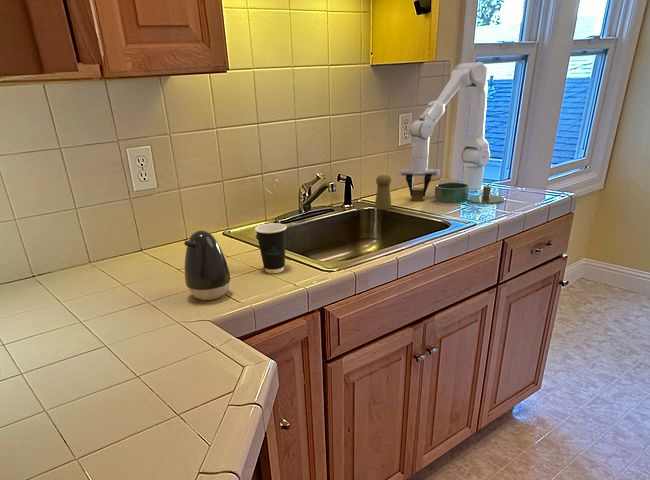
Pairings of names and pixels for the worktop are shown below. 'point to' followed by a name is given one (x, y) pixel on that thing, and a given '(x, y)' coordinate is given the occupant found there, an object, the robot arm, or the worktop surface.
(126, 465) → the worktop surface
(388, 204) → the beige peg figure
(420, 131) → the robot arm
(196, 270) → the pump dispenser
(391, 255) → the worktop surface
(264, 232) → the dixie cup
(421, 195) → the block
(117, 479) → the worktop surface
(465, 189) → the green pot
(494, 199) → the lid
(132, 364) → the worktop surface
